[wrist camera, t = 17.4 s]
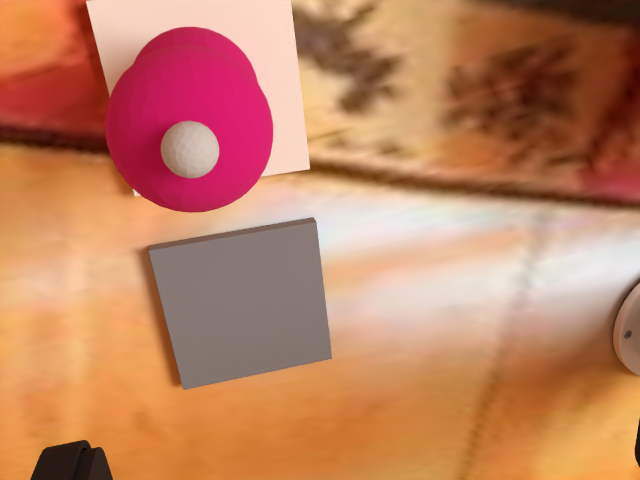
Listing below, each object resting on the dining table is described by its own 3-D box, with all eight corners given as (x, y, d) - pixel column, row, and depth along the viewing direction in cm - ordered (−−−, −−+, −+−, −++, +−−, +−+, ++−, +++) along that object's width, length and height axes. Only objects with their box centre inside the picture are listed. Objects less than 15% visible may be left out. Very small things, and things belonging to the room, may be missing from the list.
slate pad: (313, 217, 40) (316, 221, 39) (329, 351, 45) (332, 358, 44) (149, 245, 38) (148, 250, 38) (183, 382, 43) (183, 389, 42)
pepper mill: (163, 158, 35) (123, 297, 17) (117, 47, 33) (8, 71, 14) (267, 124, 36) (335, 223, 18) (231, 11, 33) (267, -9, 15)
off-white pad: (286, -19, 34) (288, -20, 33) (307, 165, 39) (310, 168, 38) (89, 1, 32) (85, 1, 31) (136, 192, 37) (134, 196, 36)
